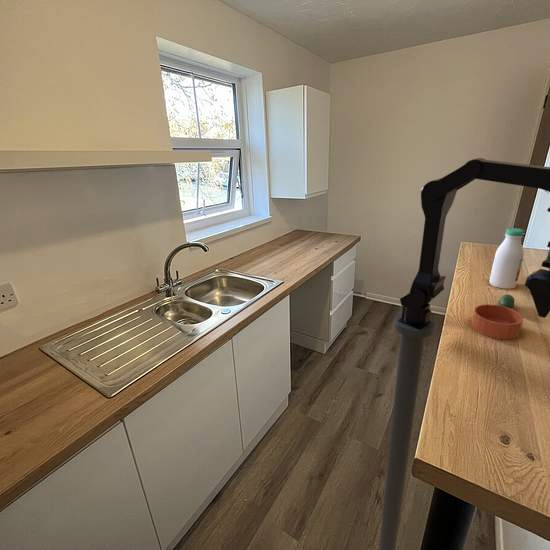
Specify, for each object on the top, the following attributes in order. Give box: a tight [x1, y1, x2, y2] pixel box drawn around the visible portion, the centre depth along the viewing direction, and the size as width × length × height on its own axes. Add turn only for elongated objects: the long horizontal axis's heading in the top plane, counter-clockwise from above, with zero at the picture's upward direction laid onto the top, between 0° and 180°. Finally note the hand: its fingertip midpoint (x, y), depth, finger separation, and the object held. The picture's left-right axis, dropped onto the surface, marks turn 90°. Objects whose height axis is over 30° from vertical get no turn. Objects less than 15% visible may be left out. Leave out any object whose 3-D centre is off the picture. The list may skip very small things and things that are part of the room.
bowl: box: [471, 303, 524, 340], centre depth 82 cm, size 11×11×4 cm
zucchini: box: [498, 294, 516, 310], centre depth 92 cm, size 8×4×4 cm, turn 142°
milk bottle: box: [489, 227, 525, 290], centre depth 102 cm, size 8×8×20 cm
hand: (549, 309), depth 63 cm, fingers open, 9 cm apart
